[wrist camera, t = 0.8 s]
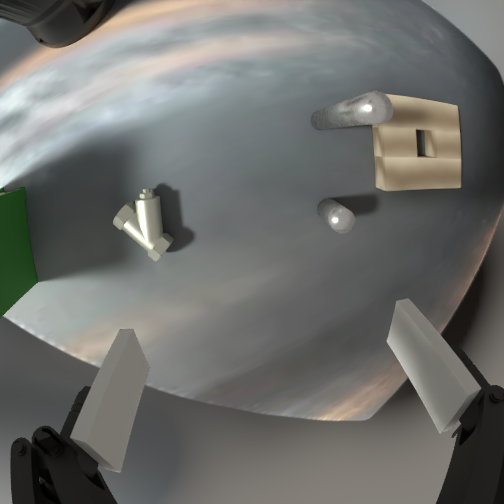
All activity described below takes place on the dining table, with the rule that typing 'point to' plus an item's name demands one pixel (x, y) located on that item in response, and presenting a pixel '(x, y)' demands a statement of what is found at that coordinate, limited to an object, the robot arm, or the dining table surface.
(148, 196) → the pipe fitting
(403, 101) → the hole plate
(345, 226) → the short pin
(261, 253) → the dining table surface
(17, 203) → the hardback book
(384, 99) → the long pin
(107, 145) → the dining table surface
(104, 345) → the dining table surface
